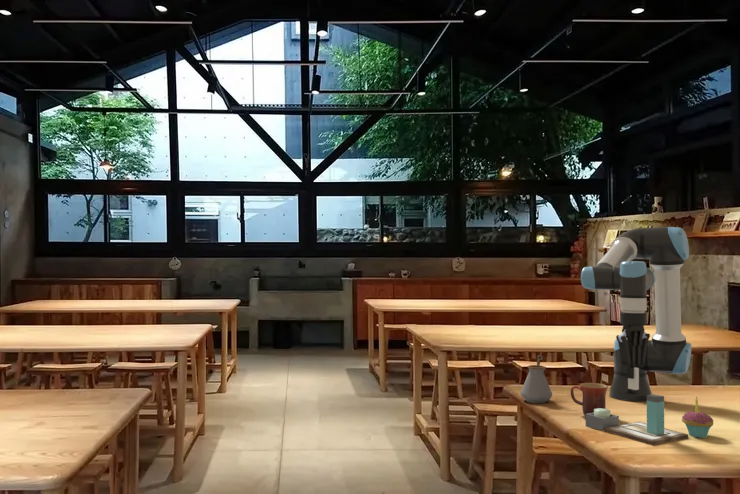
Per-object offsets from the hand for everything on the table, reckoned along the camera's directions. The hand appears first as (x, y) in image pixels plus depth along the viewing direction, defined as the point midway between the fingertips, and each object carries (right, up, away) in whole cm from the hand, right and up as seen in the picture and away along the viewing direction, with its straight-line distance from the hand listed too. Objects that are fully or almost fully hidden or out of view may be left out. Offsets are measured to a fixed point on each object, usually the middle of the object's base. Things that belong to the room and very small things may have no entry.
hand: (633, 388), depth 199 cm
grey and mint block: (+5, -12, -5) cm, 14 cm away
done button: (-7, -12, +7) cm, 15 cm away
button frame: (-7, -13, +7) cm, 17 cm away
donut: (+18, -14, -3) cm, 23 cm away
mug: (-6, -14, +22) cm, 26 cm away
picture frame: (+3, -13, -2) cm, 14 cm away
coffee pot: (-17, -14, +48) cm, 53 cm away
